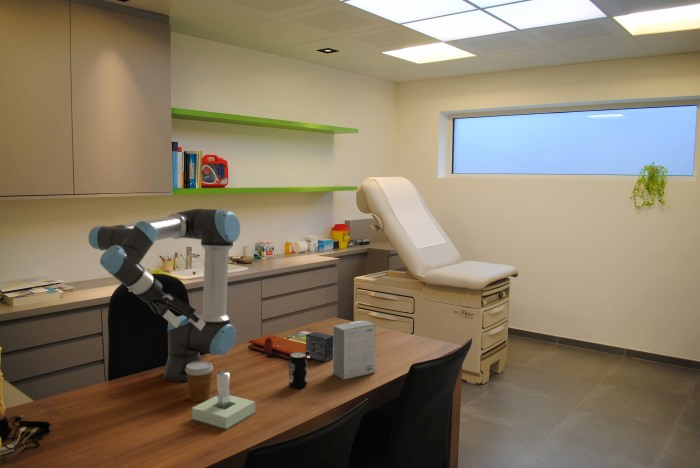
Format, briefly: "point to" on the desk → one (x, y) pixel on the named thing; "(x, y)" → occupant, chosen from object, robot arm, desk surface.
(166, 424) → the desk surface
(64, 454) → the desk surface
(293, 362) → the beverage can
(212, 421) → the socket block
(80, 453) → the desk surface
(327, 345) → the small box
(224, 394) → the pin
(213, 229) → the robot arm
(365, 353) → the hard drive box
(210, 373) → the disposable coffee cup
